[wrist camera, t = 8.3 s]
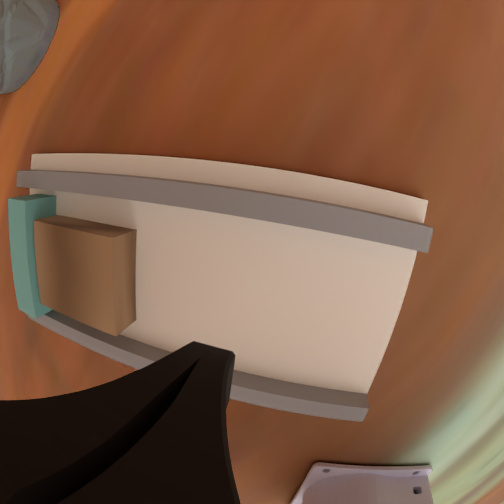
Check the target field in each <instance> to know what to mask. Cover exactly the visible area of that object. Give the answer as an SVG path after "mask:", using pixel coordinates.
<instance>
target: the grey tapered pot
mask: <svg viewBox="0 0 504 504" xmlns="http://www.w3.org/2000/svg"><path fill="white" fill-rule="evenodd" d="M59 11H60V8H59V7H58V3H57V2H56V1H55V0H0V94H6V93H11V92H14V91H16V90H17V89H19V88H20V87H21V86H22V85H24V83H25V82H26V81H27V80H28V79H29V78H30V77H31V75H32V74H33V73H34V71H35V70H36V68H37V67H38V66H39V64H40V62H41V61H42V59H43V57H44V55H45V54H46V52H47V50H48V48H49V46H50V43H51V41H52V39H53V36H54V34H55V31H56V28H57V26H58V20H59Z"/></svg>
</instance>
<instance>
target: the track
mask: <svg viewBox="0 0 504 504" xmlns="http://www.w3.org/2000/svg"><path fill="white" fill-rule="evenodd" d="M16 187H25V188H30V195H25V196H19V197H13V198H8V218H9V238H10V251H11V261H12V270H13V278H14V285H15V291H16V297H17V303H18V308H19V310H21V311H23V312H25V313H26V314H27V317H28V318H30V319H32V320H34V321H35V322H37V323H39V324H41V325H43V326H44V327H46V328H48V329H50V330H52V331H54V332H56V333H58V334H60V335H62V336H64V337H66V338H68V339H70V340H72V341H74V342H76V343H78V344H80V345H82V346H84V347H86V348H89V349H91V350H93V351H95V352H97V353H100V354H102V355H104V356H107V357H109V358H111V359H114V360H116V361H118V362H121V363H123V364H126V365H128V366H131V367H133V368H136V369H142V368H144V367H146V366H148V365H150V364H152V363H154V362H156V361H157V360H159V359H161V358H163V357H165V356H167V355H169V354H171V353H172V352H174V351H176V350H178V349H180V348H181V347H183V346H185V345H187V344H189V343H191V342H192V341H196V342H199V343H203V344H207V345H210V346H214V347H218V348H222V349H226V350H230V351H233V353H234V354H235V355H236V356H235V363H234V370H233V377H232V384H231V391H230V399H233V400H237V401H241V402H246V403H250V404H254V405H259V406H263V407H268V408H273V409H278V410H283V411H288V412H293V413H299V414H305V415H311V416H318V417H325V418H332V419H340V420H349V421H359V422H363V420H364V418H365V416H366V414H367V412H368V410H369V403H368V397H367V393H368V390H369V388H370V386H371V384H372V382H373V379H374V377H375V375H376V372H377V370H378V368H379V365H380V363H381V360H382V358H383V355H384V353H385V350H386V348H387V345H388V343H389V340H390V337H391V335H392V332H393V329H394V326H395V323H396V321H397V318H398V315H399V312H400V309H401V306H402V303H403V300H404V296H405V293H406V290H407V287H408V283H409V280H410V276H411V273H412V269H413V265H414V262H415V258H416V254H417V251H420V252H425V253H428V250H429V246H430V242H431V238H432V233H433V229H434V228H432V227H430V226H428V225H425V224H424V219H425V214H426V209H427V204H428V200H424V199H420V198H416V197H412V196H409V195H405V194H401V193H396V192H392V191H388V190H384V189H379V188H375V187H371V186H366V185H361V184H357V183H352V182H347V181H342V180H337V179H332V178H326V177H321V176H315V175H310V174H304V173H298V172H292V171H286V170H279V169H273V168H266V167H259V166H251V165H244V164H236V163H227V162H218V161H209V160H199V159H188V158H176V157H163V156H147V155H128V154H95V153H55V154H32V159H31V170H19V171H17V185H16ZM54 215H62V216H67V217H72V218H77V219H83V220H88V221H93V222H98V223H104V224H109V225H114V226H119V227H125V228H130V229H135V230H137V236H136V321H134V322H133V323H132V324H131V325H130V326H128V327H127V328H126V329H125V330H124V331H122V332H121V333H120V334H119V335H118V336H114V335H111V334H108V333H106V332H103V331H101V330H98V329H96V328H94V327H91V326H89V325H86V324H84V323H82V322H79V321H77V320H75V319H73V318H70V317H68V316H66V315H64V314H61V313H59V312H57V311H55V310H53V309H51V308H49V307H47V306H45V305H42V304H41V302H40V295H39V288H38V280H37V271H36V260H35V246H34V222H33V220H37V219H41V218H46V217H50V216H54Z"/></svg>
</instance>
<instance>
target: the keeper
mask: <svg viewBox="0 0 504 504" xmlns="http://www.w3.org/2000/svg"><path fill="white" fill-rule="evenodd" d="M33 222H34V246H35V260H36V271H37V280H38V288H39V295H40V302H41V304H42V305H45V306H47V307H49V308H51V309H53V310H55V311H57V312H59V313H61V314H64V315H66V316H68V317H70V318H73V319H75V320H77V321H79V322H82V323H84V324H86V325H89V326H91V327H94V328H96V329H98V330H101V331H103V332H106V333H108V334H111V335H114V336H118V335H119V334H120V333H121V332H122V331H124V330H125V329H126V328H127V327H128V326H130V325H131V324H132V323H133V322H134V321H136V236H137V230H135V229H130V228H125V227H119V226H114V225H109V224H104V223H98V222H93V221H88V220H83V219H77V218H72V217H67V216H62V215H54V216H50V217H46V218H41V219H37V220H33Z"/></svg>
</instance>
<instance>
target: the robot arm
mask: <svg viewBox="0 0 504 504" xmlns="http://www.w3.org/2000/svg"><path fill="white" fill-rule="evenodd" d="M235 356H236V355H235V354H234V353H233V351H230V350H226V349H222V348H218V347H214V346H210V345H207V344H203V343H199V342H196V341H192V342H191V343H189V344H187V345H185V346H183V347H181V348H180V349H178V350H176V351H174V352H172V353H171V354H169V355H167V356H165V357H163V358H161V359H159V360H157V361H156V362H154V363H152V364H150V365H148V366H146V367H144V368H142V369H139V370H137V371H135V372H132V373H130V374H128V375H126V376H123V377H121V378H118V379H116V380H114V381H111V382H108V383H105V384H102V385H99V386H96V387H93V388H89V389H86V390H82V391H79V392H74V393H69V394H64V395H59V396H53V397H47V398H40V399H30V400H0V504H240V500H239V496H238V492H237V488H236V484H235V480H234V476H233V471H232V466H231V460H230V454H229V447H228V439H227V428H226V408H227V405H228V401H229V398H230V391H231V384H232V377H233V370H234V363H235ZM432 470H433V469H432V466H431V465H425V466H357V465H342V464H331V463H322V462H318V463H315V464H313V465H312V467H311V469H310V471H309V472H308V474H307V476H306V478H305V480H304V481H303V483H302V485H301V486H300V488H299V490H298V492H297V493H296V495H295V496H294V498H293V500H292V501H291V503H290V504H433V499H432V494H431V489H430V484H429V480H428V475H429V474H430V473H431V472H432Z"/></svg>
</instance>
